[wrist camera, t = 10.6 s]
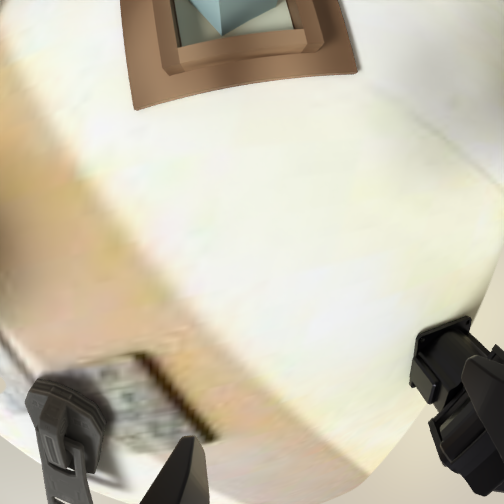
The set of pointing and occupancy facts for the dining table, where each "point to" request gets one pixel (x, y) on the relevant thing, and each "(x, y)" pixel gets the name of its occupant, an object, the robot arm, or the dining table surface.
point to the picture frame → (228, 48)
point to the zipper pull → (65, 439)
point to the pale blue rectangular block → (231, 12)
